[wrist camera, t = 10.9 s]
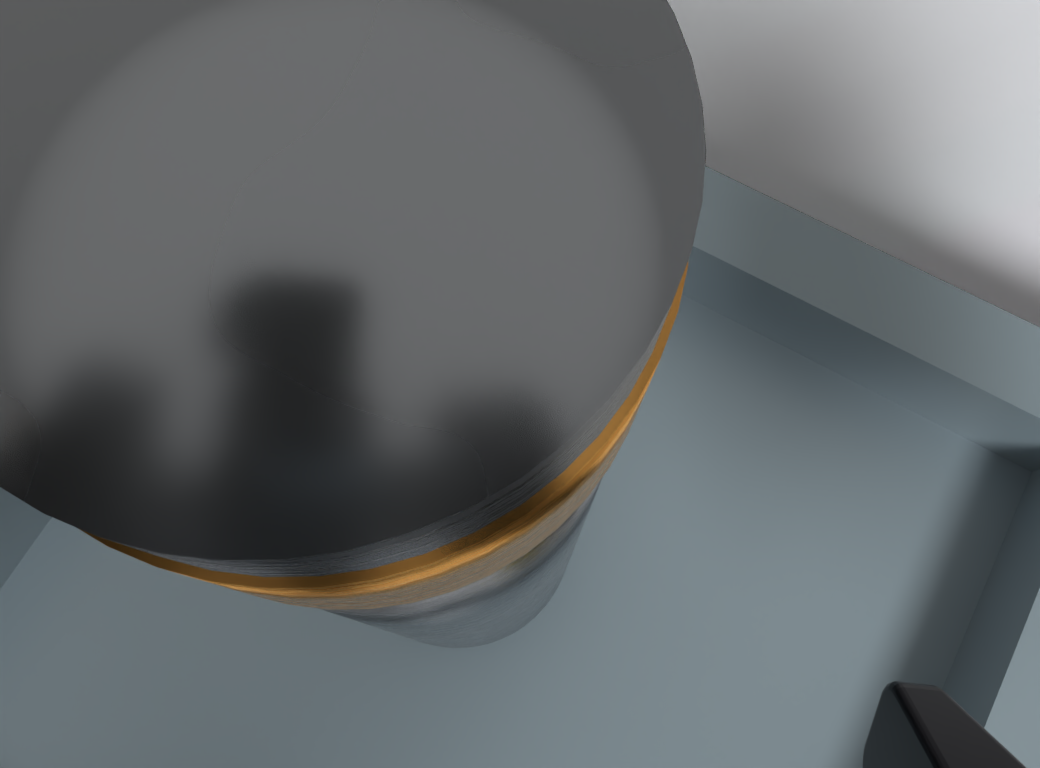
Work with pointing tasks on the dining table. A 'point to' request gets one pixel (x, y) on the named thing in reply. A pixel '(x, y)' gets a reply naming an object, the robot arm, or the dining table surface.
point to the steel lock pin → (340, 286)
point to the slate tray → (630, 562)
